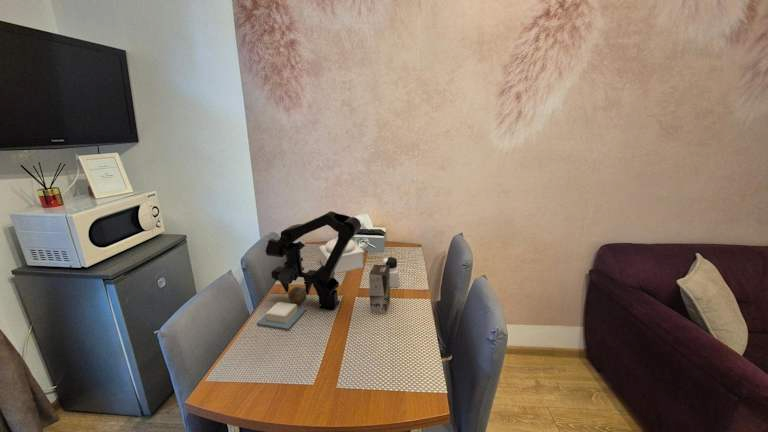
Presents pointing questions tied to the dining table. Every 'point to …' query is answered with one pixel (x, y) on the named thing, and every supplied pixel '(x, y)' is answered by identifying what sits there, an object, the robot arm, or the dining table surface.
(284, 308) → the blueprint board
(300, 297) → the walnut block
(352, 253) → the white square box
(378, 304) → the coffee box
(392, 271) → the medicine bottle
